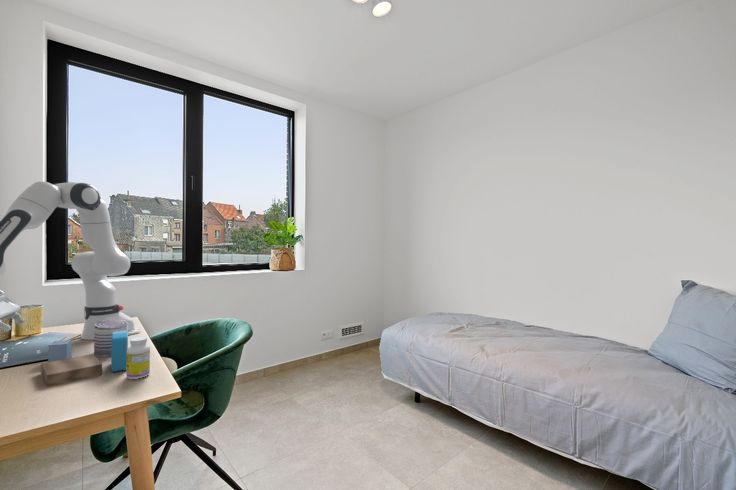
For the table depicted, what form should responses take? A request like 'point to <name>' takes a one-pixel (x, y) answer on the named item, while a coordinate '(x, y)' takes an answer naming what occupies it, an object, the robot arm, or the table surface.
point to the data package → (119, 351)
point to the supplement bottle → (138, 358)
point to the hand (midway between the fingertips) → (16, 326)
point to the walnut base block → (70, 369)
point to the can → (106, 335)
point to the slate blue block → (59, 350)
